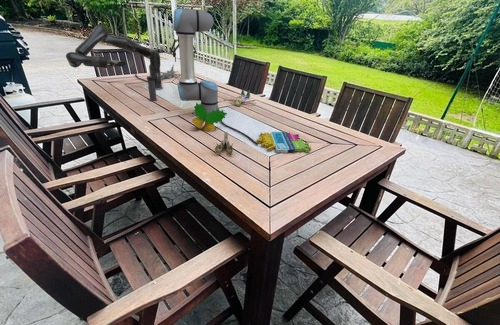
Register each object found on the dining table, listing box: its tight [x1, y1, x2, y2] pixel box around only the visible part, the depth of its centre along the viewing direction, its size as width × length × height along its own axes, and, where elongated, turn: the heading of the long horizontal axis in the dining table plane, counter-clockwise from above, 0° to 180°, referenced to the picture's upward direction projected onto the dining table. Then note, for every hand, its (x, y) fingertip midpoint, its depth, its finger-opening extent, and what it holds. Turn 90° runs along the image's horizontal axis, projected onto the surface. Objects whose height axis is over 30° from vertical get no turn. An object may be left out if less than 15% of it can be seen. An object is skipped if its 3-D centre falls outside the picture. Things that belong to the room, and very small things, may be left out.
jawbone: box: [214, 131, 234, 156], centre depth 136 cm, size 9×15×10 cm
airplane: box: [160, 64, 181, 81], centre depth 280 cm, size 38×31×10 cm
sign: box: [255, 131, 312, 154], centre depth 152 cm, size 26×2×30 cm
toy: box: [223, 89, 257, 106], centre depth 219 cm, size 28×7×30 cm
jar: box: [147, 80, 158, 102], centre depth 204 cm, size 5×5×18 cm
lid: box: [146, 75, 155, 81], centre depth 200 cm, size 6×6×2 cm
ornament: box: [191, 101, 228, 132], centre depth 162 cm, size 21×8×15 cm, turn 105°
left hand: (124, 64), depth 191 cm, fingers open, 8 cm apart
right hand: (184, 61), depth 211 cm, fingers open, 13 cm apart
